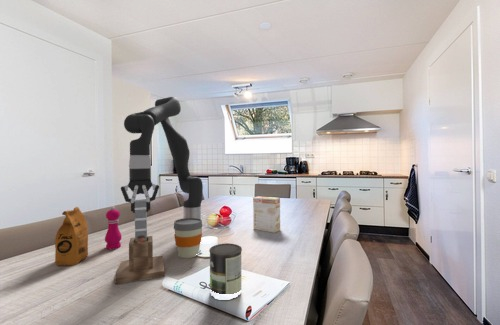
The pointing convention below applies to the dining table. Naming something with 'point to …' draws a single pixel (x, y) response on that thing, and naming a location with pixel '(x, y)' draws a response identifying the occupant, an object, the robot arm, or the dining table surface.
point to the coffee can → (225, 268)
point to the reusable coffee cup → (188, 236)
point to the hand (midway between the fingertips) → (140, 211)
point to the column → (140, 219)
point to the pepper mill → (113, 229)
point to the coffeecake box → (266, 213)
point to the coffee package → (71, 239)
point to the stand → (140, 262)
